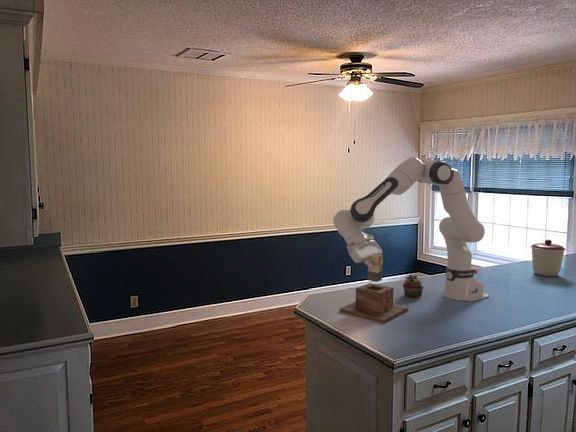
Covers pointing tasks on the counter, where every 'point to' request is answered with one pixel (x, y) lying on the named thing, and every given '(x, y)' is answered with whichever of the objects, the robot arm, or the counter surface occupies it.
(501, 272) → the counter surface
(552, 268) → the canister
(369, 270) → the rail end
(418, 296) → the cupcake
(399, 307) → the post block
